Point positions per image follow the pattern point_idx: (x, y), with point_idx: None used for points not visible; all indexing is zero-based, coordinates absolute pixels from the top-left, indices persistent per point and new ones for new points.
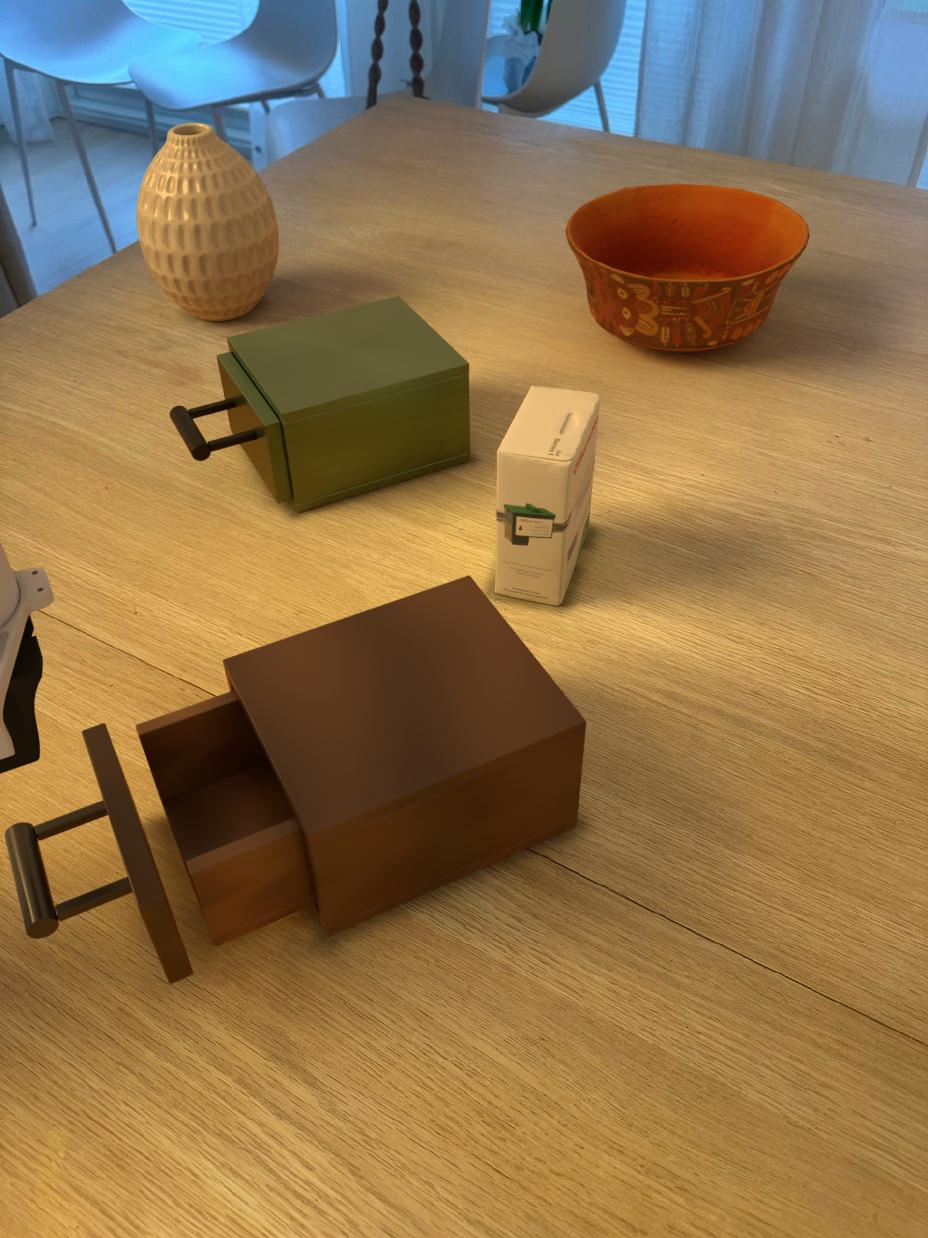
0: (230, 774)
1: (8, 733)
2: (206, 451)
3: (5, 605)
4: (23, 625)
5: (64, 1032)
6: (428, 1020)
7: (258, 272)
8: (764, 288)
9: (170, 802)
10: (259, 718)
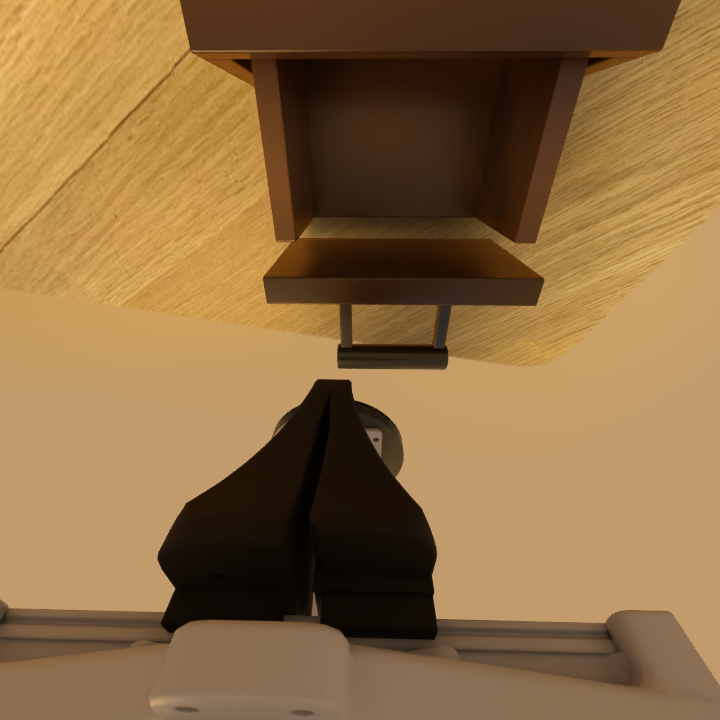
0: (308, 126)
1: (651, 639)
2: None
3: None
4: (407, 673)
5: (458, 327)
6: (685, 17)
7: None
8: None
9: (318, 208)
10: (370, 31)
